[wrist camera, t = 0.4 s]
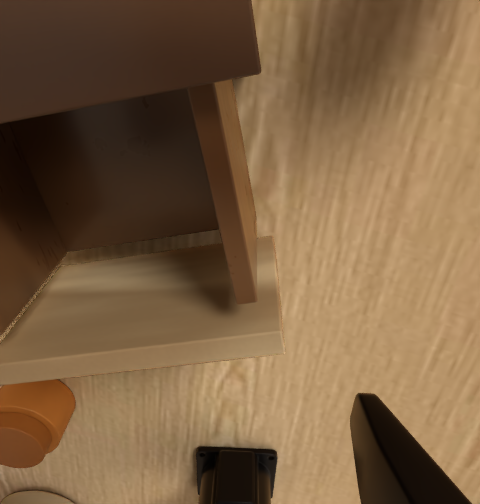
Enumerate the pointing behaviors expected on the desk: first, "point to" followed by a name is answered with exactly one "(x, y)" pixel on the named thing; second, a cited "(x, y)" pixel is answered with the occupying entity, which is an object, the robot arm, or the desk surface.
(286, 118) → the desk surface
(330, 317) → the desk surface
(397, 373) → the desk surface
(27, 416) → the stacked orange cylinders
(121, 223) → the drawer
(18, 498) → the travel mug
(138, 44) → the cabinet
